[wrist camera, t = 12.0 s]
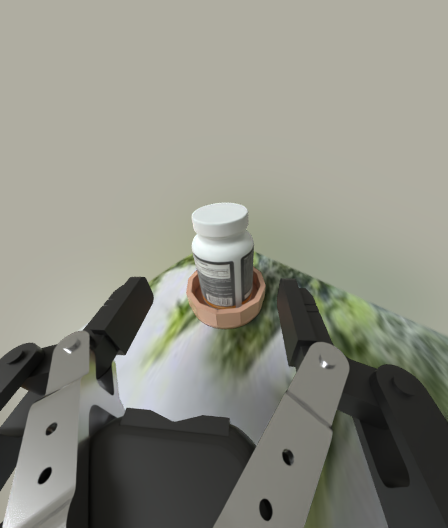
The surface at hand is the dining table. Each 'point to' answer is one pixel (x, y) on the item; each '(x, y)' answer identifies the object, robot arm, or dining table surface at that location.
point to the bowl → (226, 316)
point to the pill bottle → (223, 254)
